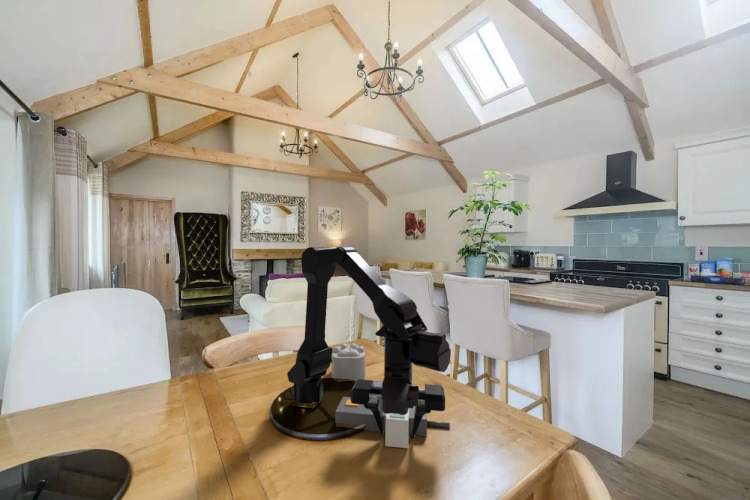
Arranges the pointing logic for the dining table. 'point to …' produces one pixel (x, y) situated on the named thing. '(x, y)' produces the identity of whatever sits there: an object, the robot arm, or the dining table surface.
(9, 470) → the dining table surface
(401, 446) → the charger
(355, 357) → the lumpy-topped squat cylinder
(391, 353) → the robot arm
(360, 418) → the power strip
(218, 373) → the dining table surface
